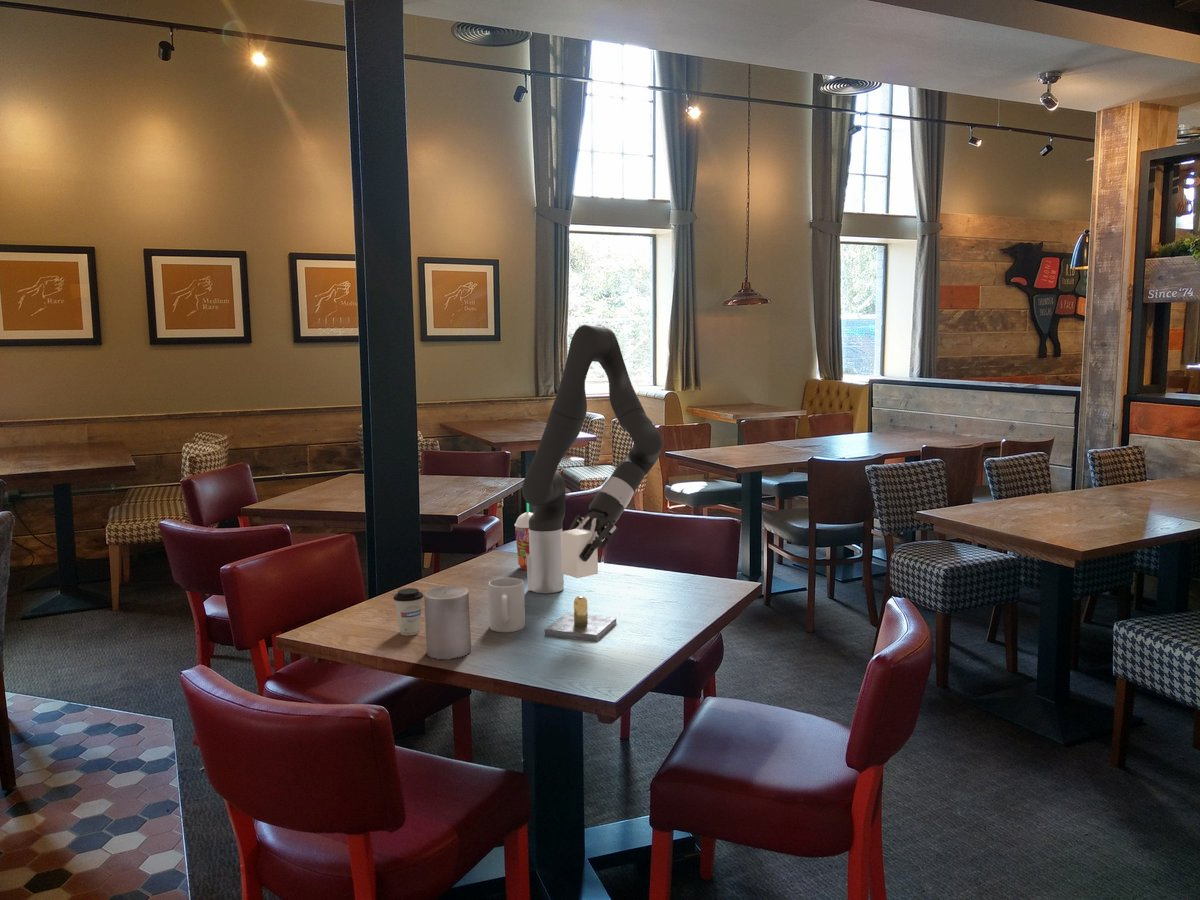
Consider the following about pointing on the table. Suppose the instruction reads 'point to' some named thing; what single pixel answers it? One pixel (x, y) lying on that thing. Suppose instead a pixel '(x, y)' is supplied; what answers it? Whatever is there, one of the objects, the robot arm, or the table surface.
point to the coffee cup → (409, 610)
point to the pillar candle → (447, 622)
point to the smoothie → (523, 538)
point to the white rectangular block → (577, 553)
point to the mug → (506, 605)
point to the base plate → (580, 631)
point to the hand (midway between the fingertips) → (573, 556)
